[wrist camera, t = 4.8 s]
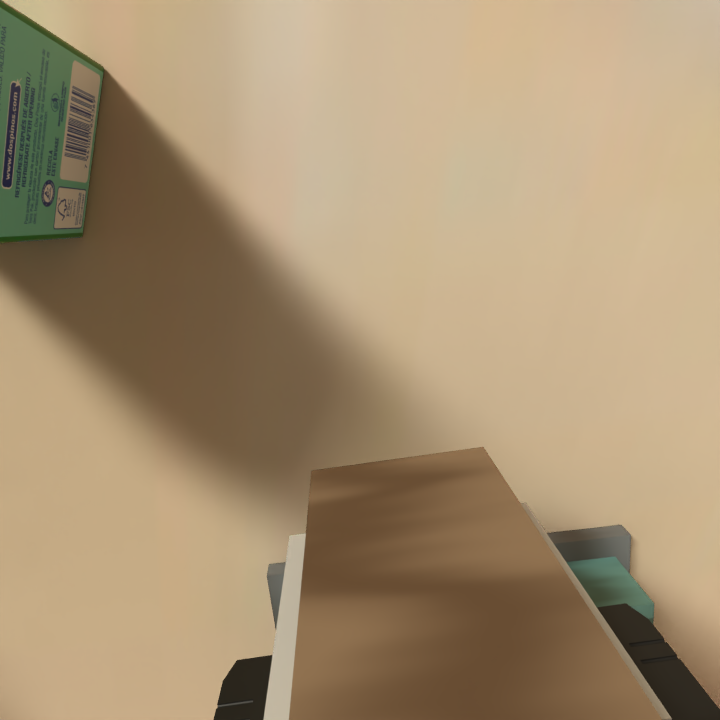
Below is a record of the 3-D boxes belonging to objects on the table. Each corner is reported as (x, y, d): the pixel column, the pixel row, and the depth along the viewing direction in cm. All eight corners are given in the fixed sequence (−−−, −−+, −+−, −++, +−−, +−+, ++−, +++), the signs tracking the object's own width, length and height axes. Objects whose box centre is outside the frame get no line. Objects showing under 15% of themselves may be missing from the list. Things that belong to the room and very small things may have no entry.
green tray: (292, 706, 39) (285, 786, 33) (269, 564, 36) (256, 627, 30) (616, 668, 39) (662, 741, 34) (621, 524, 36) (672, 579, 31)
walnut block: (335, 615, 17) (337, 1528, 5) (311, 470, 15) (240, 1246, 4) (494, 593, 17) (857, 1442, 5) (483, 446, 15) (936, 1138, 4)
